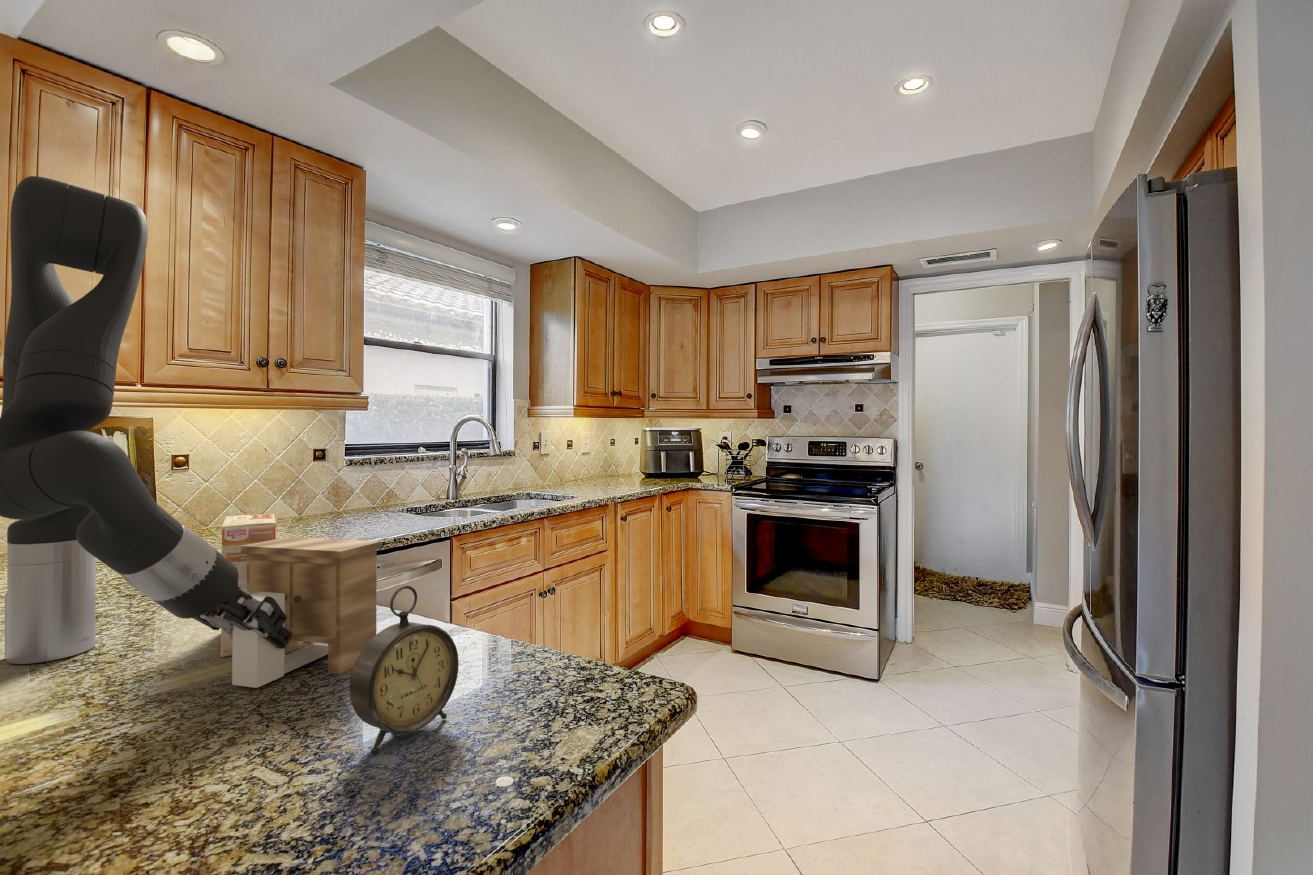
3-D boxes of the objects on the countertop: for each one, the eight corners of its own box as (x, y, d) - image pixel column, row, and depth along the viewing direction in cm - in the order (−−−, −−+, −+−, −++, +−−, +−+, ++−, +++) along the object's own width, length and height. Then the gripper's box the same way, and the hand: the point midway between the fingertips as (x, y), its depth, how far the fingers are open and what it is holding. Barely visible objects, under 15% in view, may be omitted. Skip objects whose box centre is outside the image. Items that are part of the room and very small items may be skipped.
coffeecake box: (276, 648, 89) (276, 522, 89) (218, 658, 85) (218, 526, 85) (274, 623, 101) (275, 512, 101) (224, 630, 97) (224, 515, 97)
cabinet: (237, 665, 82) (238, 546, 82) (288, 645, 90) (288, 536, 90) (338, 677, 78) (338, 551, 78) (381, 654, 86) (381, 541, 86)
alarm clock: (371, 764, 57) (371, 601, 57) (340, 749, 60) (341, 593, 60) (461, 719, 66) (461, 578, 66) (431, 707, 69) (431, 572, 69)
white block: (232, 684, 74) (232, 599, 74) (324, 644, 89) (325, 573, 89) (257, 687, 73) (257, 601, 74) (346, 647, 88) (347, 575, 88)
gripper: (251, 545, 67) (331, 619, 79) (157, 540, 70) (248, 611, 82) (205, 603, 62) (299, 673, 74) (106, 594, 65) (211, 662, 77)
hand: (271, 640), depth 78 cm, fingers closed on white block, 4 cm apart
